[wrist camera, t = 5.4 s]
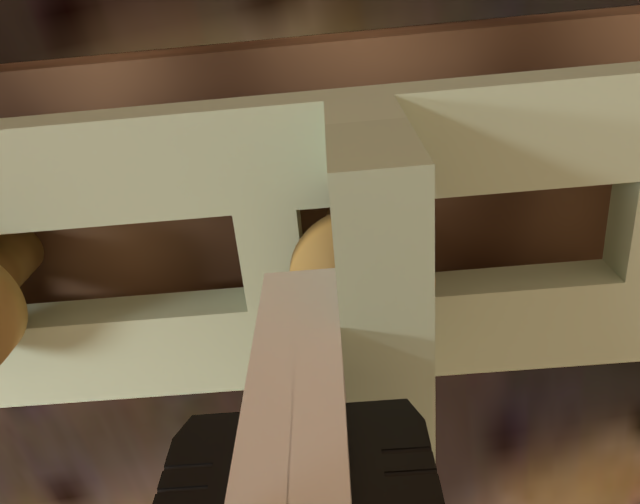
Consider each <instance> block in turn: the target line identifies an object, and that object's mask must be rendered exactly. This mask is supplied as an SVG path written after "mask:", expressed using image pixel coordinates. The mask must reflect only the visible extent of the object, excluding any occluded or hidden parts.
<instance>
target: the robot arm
mask: <svg viewBox="0 0 640 504" xmlns="http://www.w3.org/2000/svg"><path fill="white" fill-rule="evenodd" d="M153 504H445V502H444V498H443V493H442V489H441V485H440V481H439V476H438V474H437V468H436V464H435V459H434V455H433V451H432V448H431V442H430V438H429V434H428V430H427V425H426V421H425V419H424V418H423V417H422V415H421V414H420V413H419V412H418V411H417V410H416V408H415V407H414V406H413V405H412V404H411V403H410V401H409V400H408V399H393V400H378V401H364V402H349V403H347V401H346V389H345V378H344V366H343V354H342V342H341V331H340V319H339V307H338V296H337V284H336V272H335V268H327V269H314V270H301V271H288V272H275V273H264V279H263V285H262V290H261V296H260V302H259V307H258V313H257V319H256V325H255V330H254V336H253V342H252V348H251V353H250V359H249V365H248V370H247V376H246V382H245V388H244V393H243V399H242V405H241V410H240V412H233V413H218V414H204V415H192V416H191V417H190V418H189V420H188V421H187V422H186V423H185V424H184V426H183V427H182V428H181V429H180V430H179V432H178V433H177V434H176V435H175V436H174V438H173V439H172V442H171V445H170V449H169V452H168V455H167V458H166V462H165V465H164V471H162V475H161V478H160V481H159V484H158V488H157V494H155V497H154V501H153Z"/></svg>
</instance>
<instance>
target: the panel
mask: <svg viewBox="0 0 640 504" xmlns="http://www.w3.org/2000/svg"><path fill="white" fill-rule="evenodd" d="M607 184H612V190H611V197H610V205H609V212H608V220H607V227H606V234H605V242H604V249H603V257H602V259H595V260H583V261H570V262H557V263H544V264H532V265H519V266H506V267H493V268H481V269H468V270H455V271H442V272H435V199H438V198H450V197H462V196H474V195H486V194H498V193H511V192H523V191H535V190H547V189H559V188H571V187H583V186H595V185H607ZM329 207H330V213H331V225H332V237H333V249H334V260H335V272H336V284H337V296H338V307H339V319H340V331H341V342H342V354H343V366H344V378H345V389H346V401H347V403H349V402H364V401H378V400H393V399H408V400H409V401H410V403H411V404H412V405H413V406H414V407H415V408H416V410H417V411H418V412H419V413H420V414H421V415H422V417H423V418H424V419H425V421H426V425H427V430H428V434H429V438H430V442H431V448H432V451H433V455H434V459H435V464H436V439H435V376H446V375H459V374H473V373H487V372H501V371H515V370H528V369H542V368H556V367H570V366H584V365H597V364H611V363H625V362H639V361H640V61H636V62H625V63H614V64H602V65H591V66H580V67H569V68H558V69H546V70H535V71H524V72H513V73H502V74H490V75H479V76H468V77H457V78H446V79H434V80H423V81H412V82H401V83H390V84H378V85H367V86H356V87H345V88H334V89H322V90H311V91H300V92H289V93H278V94H266V95H255V96H244V97H233V98H222V99H210V100H199V101H188V102H177V103H166V104H154V105H143V106H132V107H121V108H110V109H98V110H87V111H76V112H65V113H54V114H42V115H31V116H20V117H9V118H0V235H2V234H14V233H26V232H38V231H50V230H62V229H75V228H87V227H99V226H111V225H123V224H135V223H147V222H159V221H171V220H184V219H196V218H208V217H220V216H232V219H233V225H234V231H235V237H236V243H237V249H238V255H239V261H240V268H241V274H242V280H243V286H244V287H238V288H226V289H213V290H200V291H187V292H175V293H162V294H149V295H136V296H124V297H111V298H98V299H85V300H73V301H60V302H47V303H34V304H27V310H28V323H27V328H26V331H25V333H24V335H23V337H22V339H21V340H20V342H19V343H18V344H17V345H16V347H15V348H14V349H13V350H12V352H11V353H10V354H9V356H8V357H7V358H6V359H5V361H4V362H3V363H2V364H1V365H0V408H5V407H19V406H32V405H46V404H60V403H74V402H87V401H101V400H115V399H129V398H143V397H156V396H170V395H184V394H198V393H211V392H225V391H239V390H244V388H245V382H246V376H247V370H248V365H249V359H250V353H251V348H252V342H253V336H254V330H255V325H256V319H257V313H258V307H259V302H260V296H261V290H262V285H263V279H264V273H275V272H288V271H290V262H291V258H292V254H293V251H294V249H295V246H296V245H297V243H298V241H299V239H300V238H301V237H302V235H303V234H302V225H301V215H300V210H305V209H317V208H329ZM435 280H436V286H435Z"/></svg>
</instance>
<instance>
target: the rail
mask: <svg viewBox="0 0 640 504" xmlns="http://www.w3.org/2000/svg"><path fill="white" fill-rule="evenodd" d="M636 61H640V5H634V6H623V7H612V8H601V9H591V10H580V11H569V12H558V13H547V14H537V15H526V16H515V17H504V18H493V19H482V20H472V21H461V22H450V23H439V24H428V25H418V26H407V27H396V28H385V29H374V30H363V31H353V32H342V33H331V34H320V35H309V36H299V37H288V38H277V39H266V40H255V41H244V42H234V43H223V44H212V45H201V46H190V47H180V48H169V49H158V50H147V51H136V52H125V53H115V54H104V55H93V56H82V57H71V58H61V59H50V60H39V61H28V62H17V63H6V64H0V118H9V117H20V116H31V115H42V114H54V113H65V112H76V111H87V110H98V109H110V108H121V107H132V106H143V105H154V104H166V103H177V102H188V101H199V100H210V99H222V98H233V97H244V96H255V95H266V94H278V93H289V92H300V91H311V90H322V89H334V88H345V87H356V86H367V85H378V84H390V83H401V82H412V81H423V80H434V79H446V78H457V77H468V76H479V75H490V74H502V73H513V72H524V71H535V70H546V69H558V68H569V67H580V66H591V65H602V64H614V63H625V62H636ZM611 190H612V184H607V185H595V186H583V187H571V188H559V189H547V190H535V191H523V192H511V193H498V194H486V195H474V196H462V197H450V198H438V199H435V272H442V271H455V270H468V269H481V268H493V267H506V266H519V265H532V264H544V263H557V262H570V261H583V260H595V259H602V257H603V249H604V242H605V234H606V227H607V220H608V212H609V205H610V197H611ZM300 215H301V225H302V234H303V235H302V237H301V238H300V239H299V241H298V243H297V245H296V246H295V249H294V251H293V254H292V258H291V262H290V271H301V270H314V269H327V268H335V260H334V249H333V237H332V225H331V213H330V207H329V208H317V209H305V210H300ZM435 286H436V280H435ZM238 287H244V286H243V280H242V274H241V268H240V261H239V255H238V249H237V243H236V237H235V231H234V225H233V219H232V216H220V217H208V218H196V219H184V220H171V221H159V222H147V223H135V224H123V225H111V226H99V227H87V228H75V229H62V230H50V231H38V232H26V233H14V234H2V235H0V365H1V364H2V363H3V362H4V361H5V359H6V358H7V357H8V356H9V354H10V353H11V352H12V350H13V349H14V348H15V347H16V345H17V344H18V343H19V342H20V340H21V339H22V337H23V335H24V333H25V331H26V328H27V323H28V310H27V304H34V303H47V302H60V301H73V300H85V299H98V298H111V297H124V296H136V295H149V294H162V293H175V292H187V291H200V290H213V289H226V288H238Z"/></svg>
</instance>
